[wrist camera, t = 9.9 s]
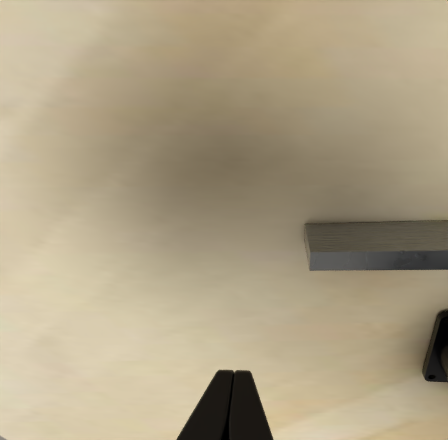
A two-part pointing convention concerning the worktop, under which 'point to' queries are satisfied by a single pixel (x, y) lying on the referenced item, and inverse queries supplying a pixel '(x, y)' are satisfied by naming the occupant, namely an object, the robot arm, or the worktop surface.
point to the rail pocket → (377, 246)
